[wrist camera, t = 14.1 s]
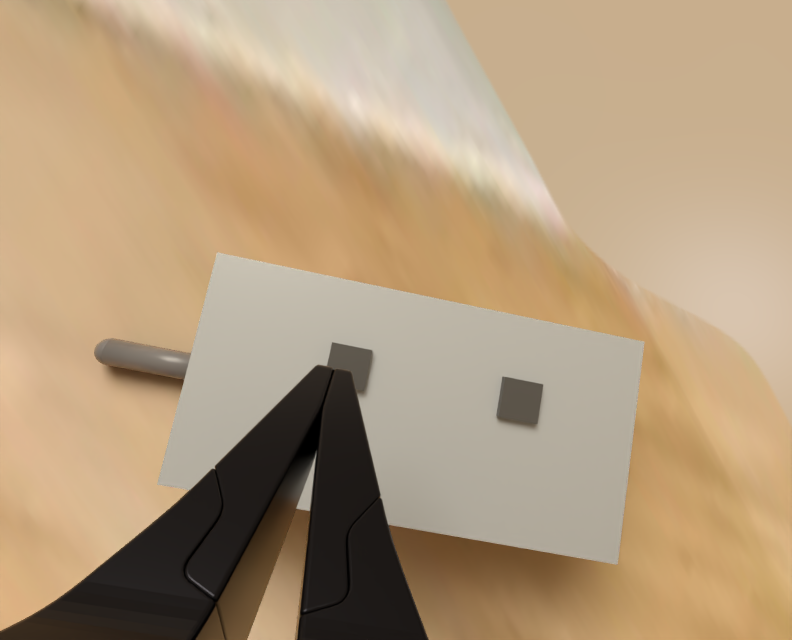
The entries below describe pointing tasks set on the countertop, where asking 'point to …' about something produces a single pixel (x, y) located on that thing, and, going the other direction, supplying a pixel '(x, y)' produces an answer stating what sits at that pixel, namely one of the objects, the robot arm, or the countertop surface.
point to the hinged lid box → (142, 358)
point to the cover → (425, 403)
